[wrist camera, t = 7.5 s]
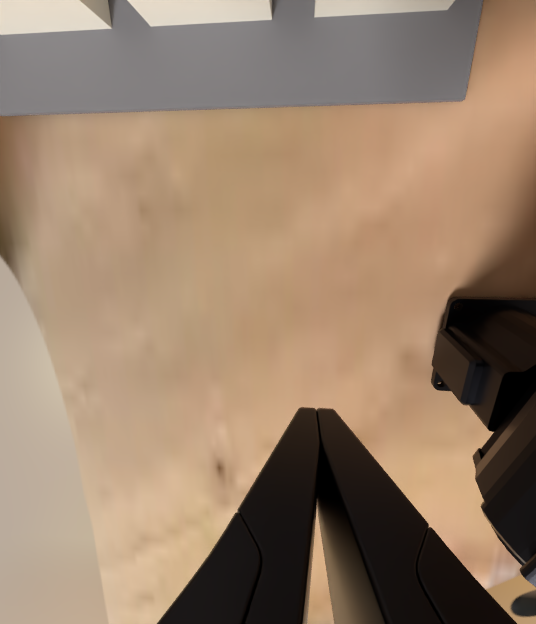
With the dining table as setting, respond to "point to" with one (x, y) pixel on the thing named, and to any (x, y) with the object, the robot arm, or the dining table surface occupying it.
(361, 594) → the robot arm
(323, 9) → the digit block 1
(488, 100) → the dining table surface
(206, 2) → the blank block
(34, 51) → the tap mat
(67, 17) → the digit block 7
